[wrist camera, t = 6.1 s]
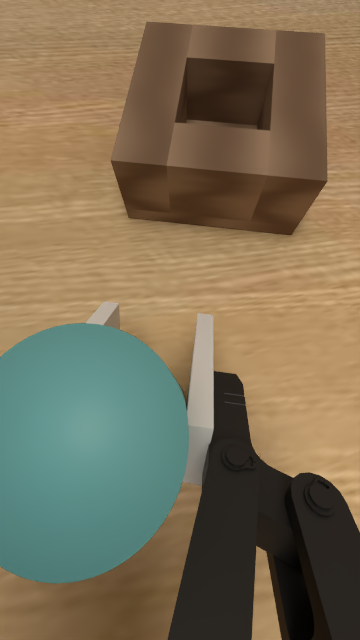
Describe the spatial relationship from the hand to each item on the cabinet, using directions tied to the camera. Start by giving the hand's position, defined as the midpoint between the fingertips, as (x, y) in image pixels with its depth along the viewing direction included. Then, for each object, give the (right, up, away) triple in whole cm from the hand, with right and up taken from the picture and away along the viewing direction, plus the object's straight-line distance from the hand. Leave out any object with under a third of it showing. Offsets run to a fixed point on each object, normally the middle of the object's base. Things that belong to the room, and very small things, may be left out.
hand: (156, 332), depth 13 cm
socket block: (+4, +13, +8) cm, 16 cm away
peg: (0, -5, +3) cm, 5 cm away
